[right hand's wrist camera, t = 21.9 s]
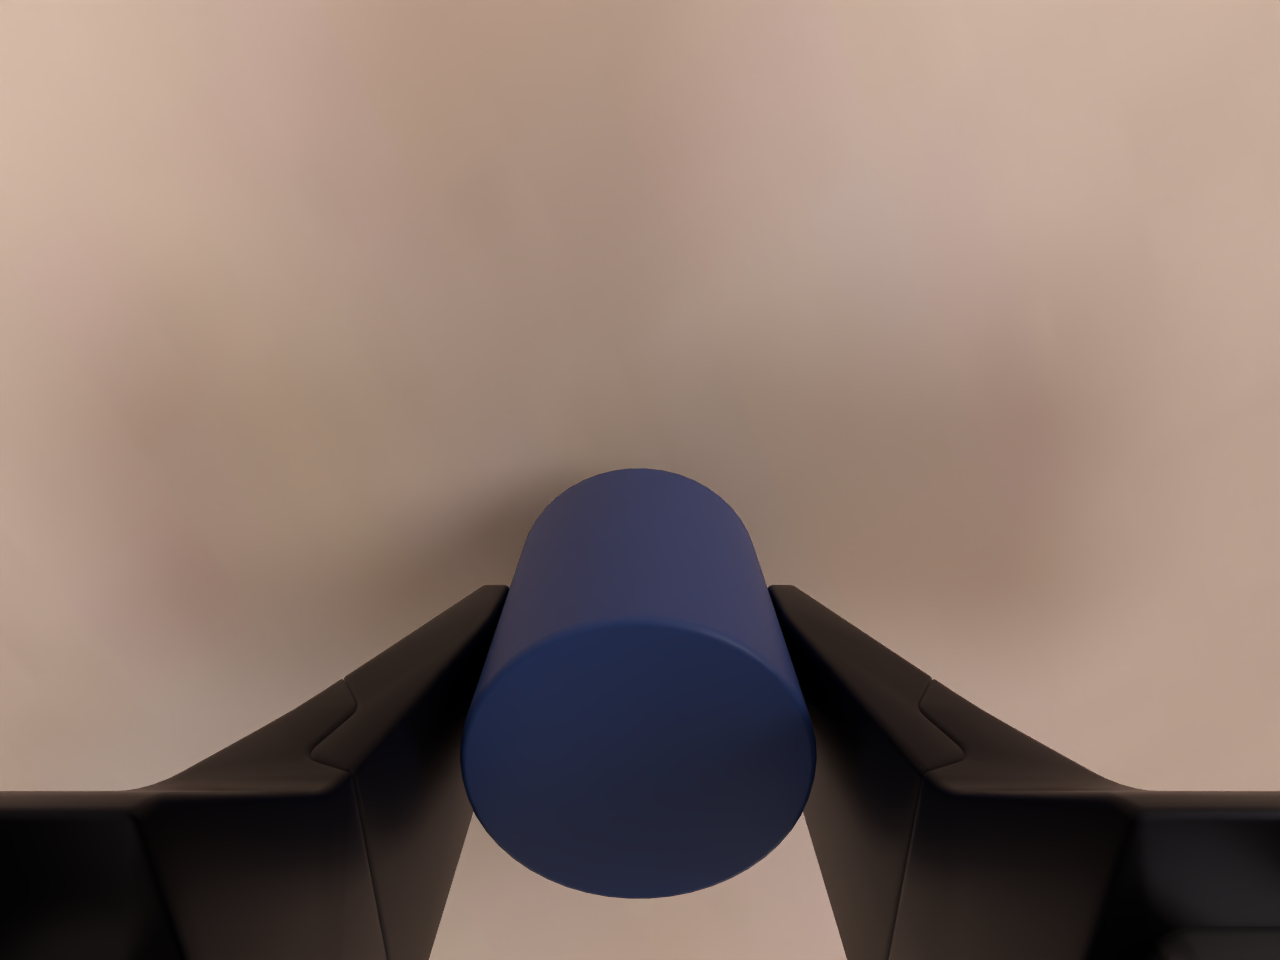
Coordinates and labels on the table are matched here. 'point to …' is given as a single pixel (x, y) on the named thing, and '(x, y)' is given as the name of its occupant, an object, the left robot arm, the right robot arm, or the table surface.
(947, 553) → the table surface
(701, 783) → the can
